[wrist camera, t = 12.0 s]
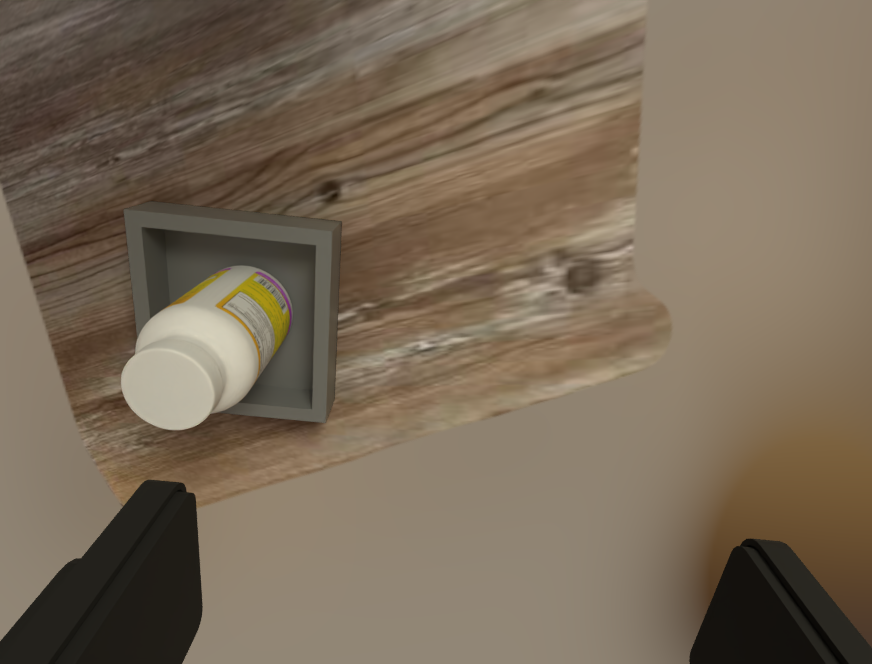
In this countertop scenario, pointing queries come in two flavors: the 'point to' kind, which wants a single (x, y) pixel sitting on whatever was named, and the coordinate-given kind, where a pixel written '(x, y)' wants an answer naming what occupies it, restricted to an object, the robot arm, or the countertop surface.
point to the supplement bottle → (207, 348)
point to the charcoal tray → (261, 248)
